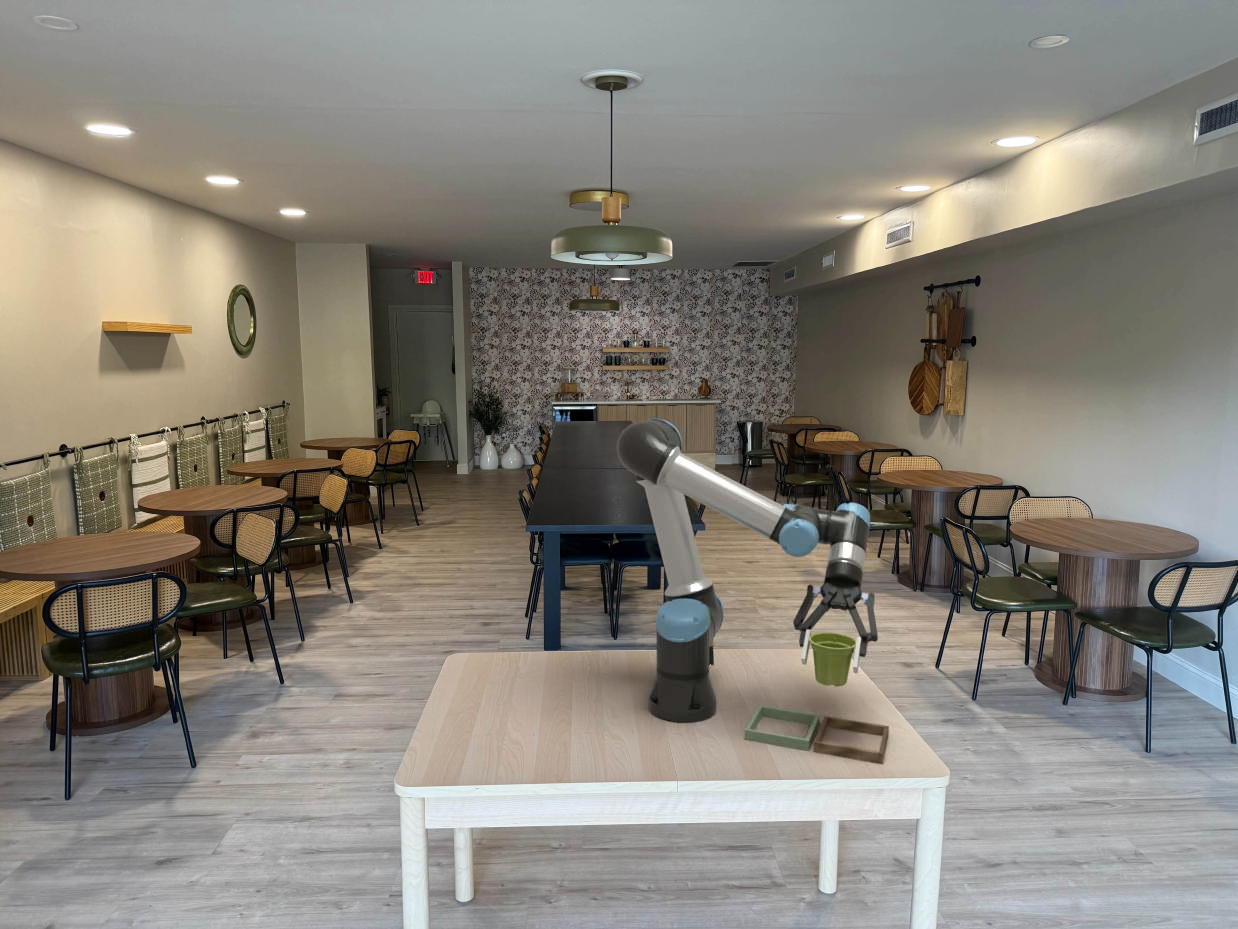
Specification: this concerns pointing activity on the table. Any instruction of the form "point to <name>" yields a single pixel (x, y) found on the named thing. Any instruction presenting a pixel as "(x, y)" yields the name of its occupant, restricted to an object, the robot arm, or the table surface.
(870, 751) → the walnut collar
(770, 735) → the sage green collar
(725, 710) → the table surface
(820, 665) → the plant pot
